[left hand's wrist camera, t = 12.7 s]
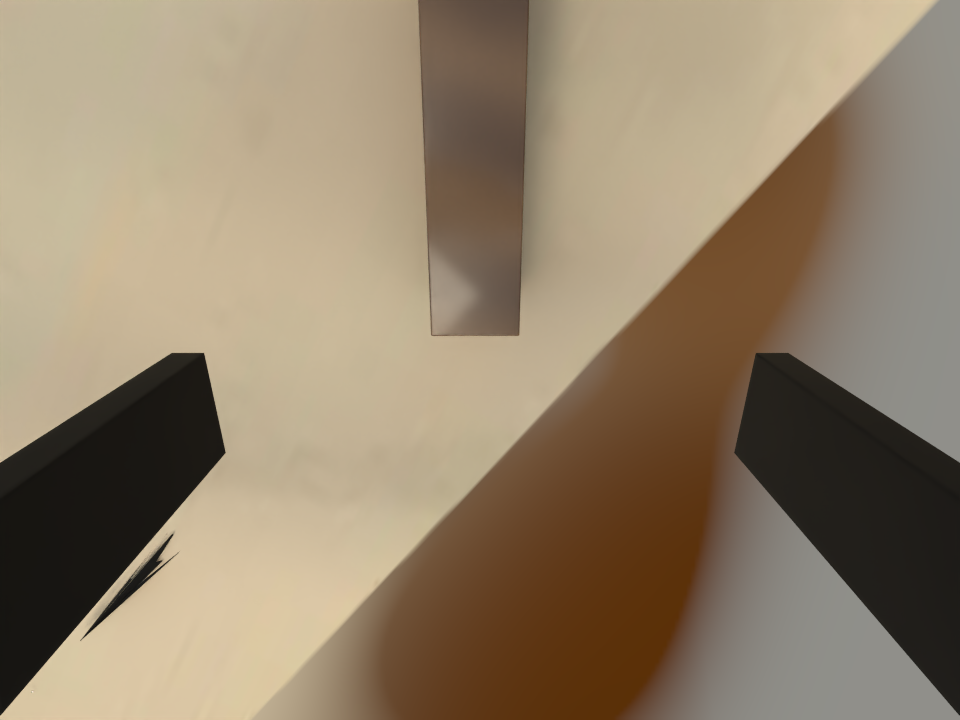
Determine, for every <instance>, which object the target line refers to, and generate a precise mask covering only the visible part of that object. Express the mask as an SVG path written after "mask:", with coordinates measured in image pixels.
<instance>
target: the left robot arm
mask: <svg viewBox="0 0 960 720" xmlns="http://www.w3.org/2000/svg"><path fill="white" fill-rule="evenodd" d="M225 453H226V452H225V448H224V443H223V438H222V434H221V429H220V425H219V420H218V415H217V411H216V406H215V401H214V397H213V392H212V388H211V383H210V378H209V374H208V369H207V364H206V360H205V355H204V353H171V354H170V355H168V356H166V357H165V358H163V359H162V360H160V361H159V362H157V363H156V364H154V365H152V366H151V367H149V368H148V369H146V370H145V371H143V372H141V373H140V374H138V375H137V376H135V377H134V378H132V379H131V380H129V381H127V382H126V383H124V384H123V385H121V386H120V387H118V388H116V389H115V390H113V391H112V392H110V393H109V394H107V395H105V396H104V397H102V398H101V399H99V400H98V401H96V402H95V403H93V404H91V405H90V406H88V407H87V408H85V409H84V410H82V411H80V412H79V413H77V414H76V415H74V416H73V417H71V418H70V419H68V420H66V421H65V422H63V423H62V424H60V425H59V426H57V427H55V428H54V429H52V430H51V431H49V432H48V433H46V434H45V435H43V436H41V437H40V438H38V439H37V440H35V441H34V442H32V443H30V444H29V445H27V446H26V447H24V448H23V449H21V450H19V451H18V452H16V453H15V454H13V455H12V456H10V457H9V458H7V459H5V460H4V461H2V462H1V463H0V715H1V714H2V713H3V712H4V711H5V710H6V708H7V707H8V706H9V705H10V704H11V703H12V701H13V700H14V699H15V698H16V697H17V696H18V694H19V693H20V692H21V691H22V690H23V689H24V687H25V686H26V685H27V684H28V683H29V682H30V680H31V679H32V678H33V677H34V676H35V675H36V673H37V672H38V671H39V670H40V669H41V668H42V666H43V665H44V664H45V663H46V662H47V661H48V659H49V658H50V657H51V656H52V655H53V654H54V652H55V651H56V650H57V649H58V648H59V647H60V645H61V644H62V643H63V642H64V641H65V640H66V638H67V637H68V636H69V635H70V634H71V633H72V631H73V630H74V629H75V628H76V627H77V626H78V624H79V623H80V622H81V621H82V620H83V619H84V617H85V616H86V615H87V614H88V613H89V612H90V610H91V609H92V608H93V607H94V606H95V605H96V603H97V602H98V601H99V600H100V599H101V598H102V596H103V595H104V594H105V593H106V592H107V591H108V589H109V588H110V587H111V586H112V585H113V584H114V582H115V581H116V580H117V579H118V578H119V577H120V575H121V574H122V573H123V572H124V571H125V570H126V568H127V567H128V566H129V565H130V564H131V563H132V561H133V560H134V559H135V558H136V557H137V556H138V554H139V553H140V552H141V551H142V550H143V549H144V547H145V546H146V545H147V544H148V543H149V542H150V540H151V539H152V538H153V537H154V536H155V535H156V533H157V532H158V531H159V530H160V529H161V528H162V526H163V525H164V524H165V523H166V522H167V521H168V519H169V518H170V517H171V516H172V515H173V514H174V512H175V511H176V510H177V509H178V508H179V507H180V505H181V504H182V503H183V502H184V501H185V500H186V498H187V497H188V496H189V495H190V494H191V493H192V491H193V490H194V489H195V488H196V487H197V486H198V484H199V483H200V482H201V481H202V480H203V479H204V477H205V476H206V475H207V474H208V473H209V472H210V470H211V469H212V468H213V467H214V466H215V465H216V463H217V462H218V461H219V460H220V459H221V458H222V456H223V455H224V454H225ZM734 453H735V454H736V455H737V456H738V458H739V459H740V460H741V461H742V462H743V463H744V465H745V466H746V467H747V468H748V469H749V470H750V472H751V473H752V474H753V475H754V476H755V477H756V479H757V480H758V481H759V482H760V483H761V484H762V486H763V487H764V488H765V489H766V490H767V491H768V493H769V494H770V495H771V496H772V497H773V498H774V500H775V501H776V502H777V503H778V504H779V505H780V507H781V508H782V509H783V510H784V511H785V512H786V514H787V515H788V516H789V517H790V518H791V519H792V521H793V522H794V523H795V524H796V525H797V526H798V528H799V529H800V530H801V531H802V532H803V533H804V535H805V536H806V537H807V538H808V539H809V540H810V542H811V543H812V544H813V545H814V546H815V547H816V549H817V550H818V551H819V552H820V553H821V554H822V556H823V557H824V558H825V559H826V560H827V561H828V563H829V564H830V565H831V566H832V567H833V568H834V570H835V571H836V572H837V573H838V574H839V575H840V577H841V578H842V579H843V580H844V581H845V582H846V584H847V585H848V586H849V587H850V588H851V589H852V591H853V592H854V593H855V594H856V595H857V596H858V598H859V599H860V600H861V601H862V602H863V603H864V605H865V606H866V607H867V608H868V609H869V610H870V612H871V613H872V614H873V615H874V616H875V617H876V619H877V620H878V621H879V622H880V623H881V624H882V626H883V627H884V628H885V629H886V630H887V631H888V633H889V634H890V635H891V636H892V637H893V638H894V640H895V641H896V642H897V643H898V644H899V645H900V647H901V648H902V649H903V650H904V651H905V652H906V654H907V655H908V656H909V657H910V658H911V659H912V661H913V662H914V663H915V664H916V665H917V666H918V668H919V669H920V670H921V671H922V672H923V673H924V675H925V676H926V677H927V678H928V679H929V680H930V682H931V683H932V684H933V685H934V686H935V687H936V689H937V690H938V691H939V692H940V693H941V694H942V696H943V697H944V698H945V699H946V700H947V701H948V703H949V704H950V705H951V706H952V707H953V708H954V710H955V711H956V712H957V713H958V714H959V715H960V463H959V462H958V461H956V460H955V459H953V458H951V457H950V456H948V455H947V454H945V453H944V452H942V451H941V450H939V449H937V448H936V447H934V446H933V445H931V444H930V443H928V442H926V441H925V440H923V439H922V438H920V437H919V436H917V435H915V434H914V433H912V432H911V431H909V430H908V429H906V428H905V427H903V426H901V425H900V424H898V423H897V422H895V421H894V420H892V419H890V418H889V417H887V416H886V415H884V414H883V413H881V412H880V411H878V410H876V409H875V408H873V407H872V406H870V405H869V404H867V403H865V402H864V401H862V400H861V399H859V398H858V397H856V396H854V395H853V394H851V393H850V392H848V391H847V390H845V389H844V388H842V387H840V386H839V385H837V384H836V383H834V382H833V381H831V380H829V379H828V378H826V377H825V376H823V375H822V374H820V373H819V372H817V371H815V370H814V369H812V368H811V367H809V366H808V365H806V364H804V363H803V362H801V361H800V360H798V359H797V358H795V357H794V356H792V355H790V354H789V353H756V355H755V360H754V365H753V369H752V374H751V378H750V383H749V388H748V392H747V397H746V402H745V406H744V411H743V416H742V420H741V425H740V429H739V434H738V438H737V443H736V448H735V452H734Z"/></svg>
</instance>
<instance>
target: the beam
mask: <svg viewBox="0 0 960 720" xmlns="http://www.w3.org/2000/svg"><path fill="white" fill-rule="evenodd" d="M418 4H419V30H420V56H421V82H422V108H423V134H424V160H425V186H426V212H427V238H428V264H429V290H430V316H431V335H432V336H518V335H519V325H520V291H521V257H522V223H523V189H524V156H525V122H526V88H527V54H528V20H529V0H418Z"/></svg>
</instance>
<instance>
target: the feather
mask: <svg viewBox="0 0 960 720" xmlns="http://www.w3.org/2000/svg"><path fill="white" fill-rule="evenodd" d="M166 535H167V534H166ZM173 535H174V534H172V535H171V536H170V537H169V539H168V540H167V541H166V542H165V543H164V544H163V545H162V547H161V548H160V549H159V548H158V549H159V550H158V551H157V552H156V554H155V555H154V556H153V557H152V558H151V559H150V561H149V562H148V561H147V562H148V563H147V562H146V563H147V564H146V565H145V566H144V568H143V569H142V568H141V569H142V570H141V569H140V570H141V571H140V570H139V571H140V572H139V573H138V575H137V574H136V575H137V576H136V575H135V576H136V577H135V576H134V577H135V578H134V579H133V580H132V579H131V578H130V579H129V580H128V581H127V583H126V584H125V585H124V586H123V588H121V590H120V591H119V593H118V594H117V595H116V596H115V598H117V597H118V596H119V597H118V598H117V599H116V600H115V598H114V599H113V600H112V601H111V603H110V604H109V605H108V606H107V608H106V609H105V610H104V611H103V613H102V614H101V615H100V616H99V618H98V619H97V620H96V622H95V623H94V624H93V625H92V627H91V628H90V629H89V630H88V632H87V633H86V634H85V636H86V635H87V634H89V633H90V632H91V631H92V630H93V629H94V628H95V627H96V626H97V625H99V624H100V623H101V622H102V621H103V620H104V619H105V618H106V617H107V616H109V615H110V614H111V613H112V612H113V611H114V610H115V609H116V608H117V607H119V606H120V605H121V604H122V603H123V602H124V601H125V600H126V599H128V598H129V597H130V596H131V595H132V594H133V593H134V592H135V591H136V590H138V589H139V588H140V587H141V586H142V585H143V584H144V583H145V582H146V581H148V580H149V579H150V578H151V577H152V576H153V575H154V574H155V573H156V572H158V571H159V570H160V569H161V568H162V567H163V566H164V565H165V564H166V563H168V562H169V561H170V560H171V559H172V558H173V557H174V556H173V557H172V558H171V559H170V560H168V561H167V562H166V563H165V564H164V565H162V566H161V567H160V568H159V569H157V570H156V571H155V572H154V573H152V574H151V575H150V576H149V577H147V576H148V575H149V574H150V573H151V572H152V571H153V570H154V569H155V568H156V567H157V566H158V565H159V564H160V563H161V562H162V560H161V561H157V559H158V558H159V556H160V554H161V553H162V551H163V550H164V548H165V547H166V545H167V544H168V542H169V541H170V539H171V538H172V536H173ZM153 551H154V550H153ZM150 553H151V552H150ZM178 553H179V552H178ZM178 553H177V554H178ZM149 556H150V555H149ZM146 558H147V557H146ZM156 561H157V562H156ZM142 563H143V562H142ZM139 567H140V566H139ZM135 572H137V570H136V571H135ZM133 575H134V574H132V576H131V577H133ZM146 577H147V578H146ZM145 578H146V579H145ZM144 579H145V580H144ZM131 580H132V581H131ZM143 580H144V581H143ZM130 582H131V583H130ZM129 583H130V584H129ZM127 584H129V585H128V586H127ZM126 586H127V587H126ZM124 589H125V590H124ZM123 590H124V591H123ZM121 591H123V592H122V593H121ZM120 593H121V594H120ZM111 604H112V605H111ZM110 605H111V606H110ZM109 606H110V607H109ZM105 611H106V612H105ZM104 612H105V613H104ZM85 636H84V637H85ZM84 637H83V638H84ZM83 638H82V639H83ZM82 639H81V640H82ZM81 640H80V641H81ZM33 692H34V690H32V691H31V693H33Z"/></svg>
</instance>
